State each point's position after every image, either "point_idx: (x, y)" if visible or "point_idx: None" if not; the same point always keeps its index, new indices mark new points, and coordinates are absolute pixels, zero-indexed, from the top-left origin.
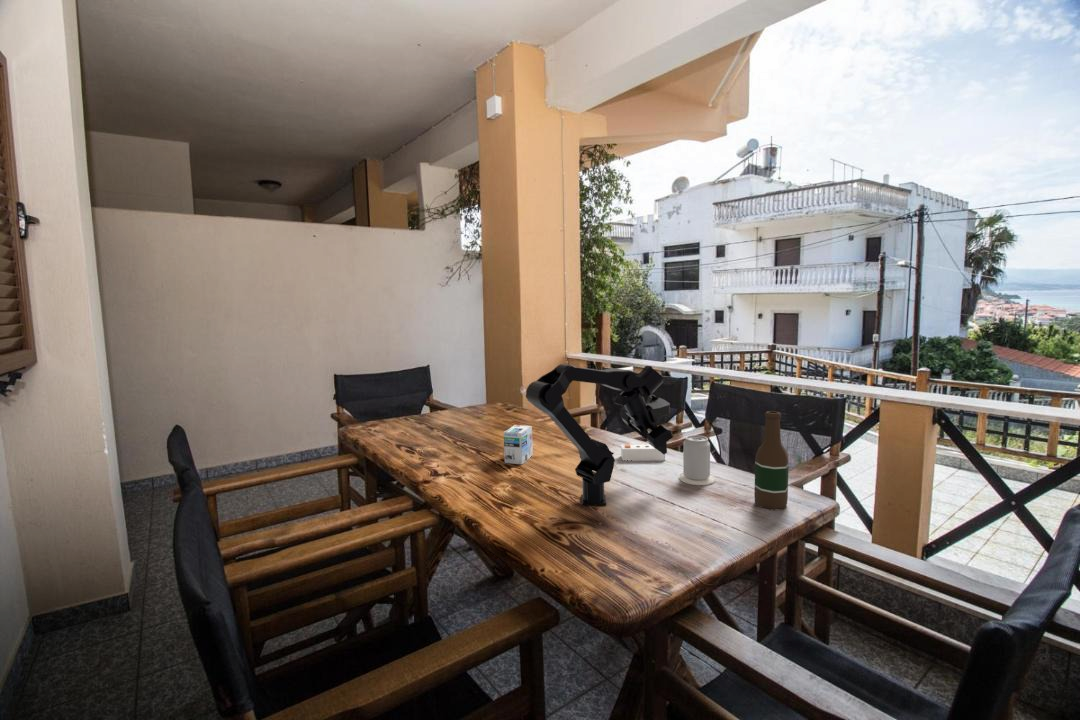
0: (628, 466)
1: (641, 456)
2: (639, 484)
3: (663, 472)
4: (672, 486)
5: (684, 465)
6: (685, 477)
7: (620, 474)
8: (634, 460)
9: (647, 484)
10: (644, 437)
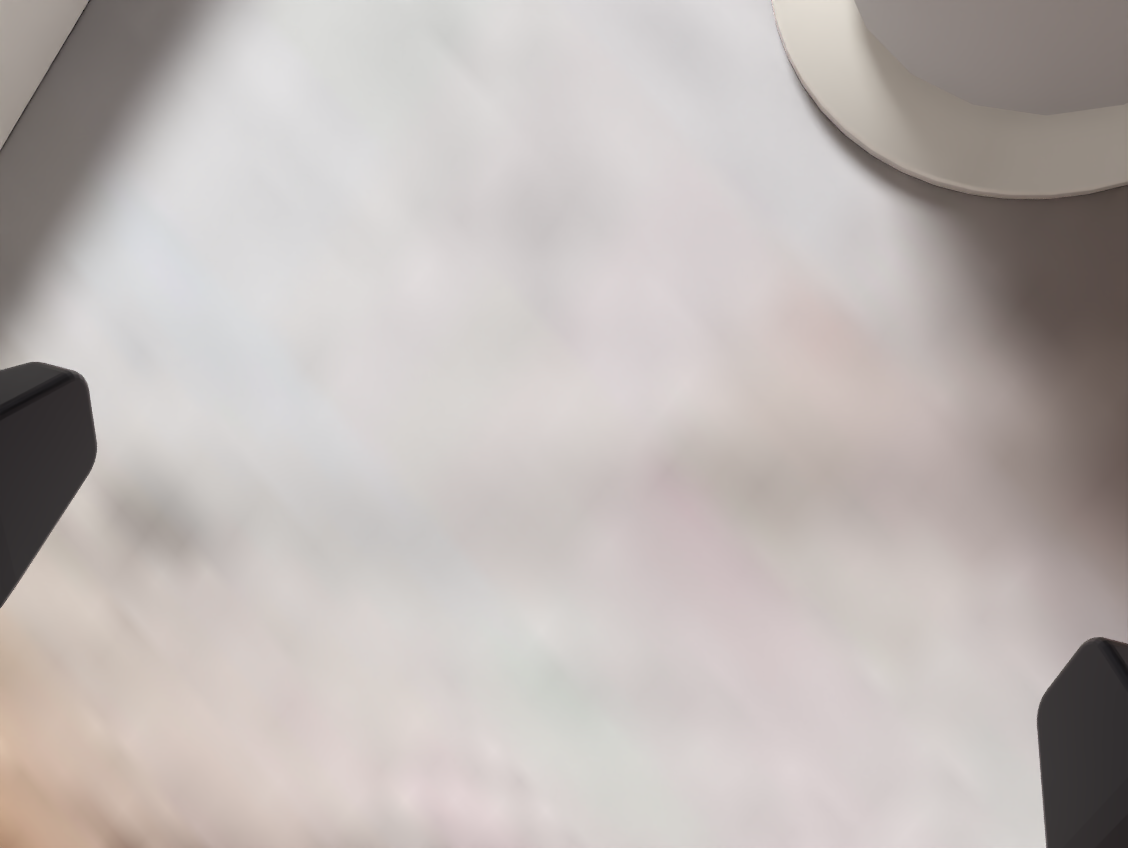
0: (101, 358)
1: (2, 36)
2: (644, 765)
3: (523, 142)
4: (1009, 466)
5: (1000, 25)
6: None
7: (238, 661)
8: (2, 139)
9: (714, 682)
10: (2, 589)
